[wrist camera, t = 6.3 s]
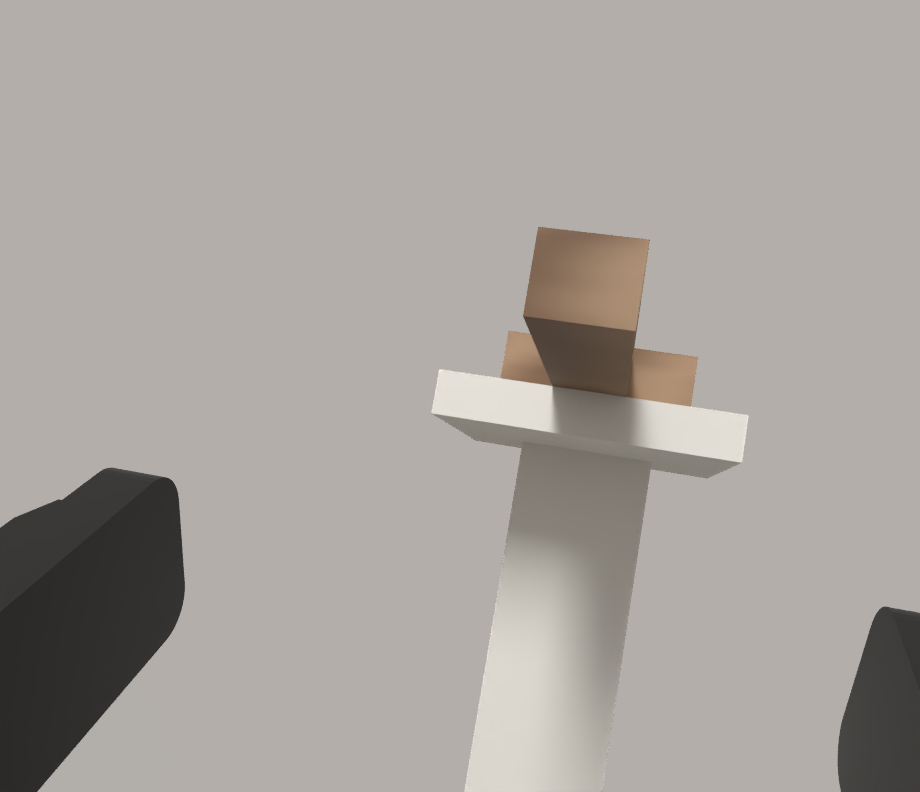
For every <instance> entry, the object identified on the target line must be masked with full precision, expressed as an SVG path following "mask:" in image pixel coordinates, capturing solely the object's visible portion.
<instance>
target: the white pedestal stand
mask: <svg viewBox="0 0 920 792" xmlns="http://www.w3.org/2000/svg"><path fill="white" fill-rule="evenodd" d="M432 414H433V415H435V416H437V417H438V418H440V419H442V420H444V421H445V422H446V423H448V424H450V425H452V426H453V427H455V428H456V429H458V430H459V431H461V432H463V433H464V434H466V435H468V436H469V437H471V438H473V439H474V440H476V441H482V442H488V443H494V444H500V445H507V446H513V447H518V448H522V449H521V455H520V462H519V467H518V473H517V479H516V486H515V491H514V497H513V503H512V509H511V515H510V521H509V528H508V534H507V539H506V545H505V551H504V558H503V563H502V569H501V575H500V582H499V587H498V594H497V600H496V605H495V611H494V617H493V624H492V629H491V635H490V641H489V647H488V653H487V659H486V665H485V671H484V678H483V683H482V690H481V695H480V702H479V707H478V713H477V719H476V725H475V732H474V737H473V743H472V749H471V756H470V761H469V767H468V773H467V779H466V785H465V791H464V792H602V788H603V783H604V776H605V769H606V762H607V756H608V749H609V742H610V736H611V729H612V722H613V716H614V709H615V702H616V696H617V689H618V683H619V676H620V669H621V663H622V656H623V649H624V643H625V636H626V629H627V623H628V616H629V609H630V602H631V596H632V589H633V583H634V575H635V569H636V563H637V556H638V549H639V543H640V536H641V529H642V523H643V516H644V509H645V503H646V496H647V489H648V483H649V476H650V470H651V469H653V470H659V471H665V472H671V473H677V474H684V475H690V476H696V477H702V478H709V477H711V476H713V475H716V474H718V473H720V472H722V471H724V470H727V469H729V468H731V467H733V466H736V465H738V464H740V463H742V460H743V453H744V445H745V437H746V431H747V423H748V415H742V414H736V413H730V412H723V411H715V410H710V409H703V408H696V407H690V406H683V405H676V404H669V403H663V402H656V401H649V400H643V399H636V398H629V397H622V396H616V395H609V394H602V393H596V392H589V391H582V390H576V389H569V388H562V387H555V386H549V385H542V384H535V383H529V382H522V381H515V380H509V379H502V378H495V377H488V376H482V375H475V374H468V373H462V372H455V371H448V370H442V369H439V374H438V380H437V385H436V391H435V396H434V402H433V407H432Z"/></svg>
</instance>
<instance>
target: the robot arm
mask: <svg viewBox="0 0 920 792" xmlns="http://www.w3.org/2000/svg"><path fill="white" fill-rule="evenodd" d="M184 592H185V581H184V567H183V554H182V538H181V525H180V510H179V498H178V492H177V488H176V486H175V484H174V483H173V481H172V480H170V479H169V478H165V477H160V476H155V475H149V474H144V473H138V472H132V471H128V470H122V469H116V468H107V469H104V470H102V471H100V472H99V473H97V474H96V475H95V476H93V477H92V478H91V479H90V480H88V481H87V482H86V483H84V484H83V485H82V486H80V487H79V488H78V489H76V490H75V491H74V492H72V493H71V494H70V495H68V496H67V497H66V498H64V499H63V500H56V501H54V502H52V503H49V504H47V505H44V506H42V507H39V508H37V509H35V510H32V511H30V512H27V513H25V514H22V515H20V516H18V517H15V518H13V519H12V520H10V521H9V522H8V523H6V524H5V525H4V526H2V527H1V528H0V792H37V791H38V790H39V789H40V788H41V786H42V785H43V784H44V783H45V782H46V781H47V779H48V778H49V777H50V776H51V775H52V773H53V772H54V771H55V770H56V769H57V768H58V767H59V765H60V764H61V763H62V762H63V761H64V759H65V758H66V757H67V756H68V755H69V754H70V752H71V751H72V750H73V749H74V748H75V747H76V745H77V744H78V743H79V742H80V741H81V739H82V738H83V737H84V736H85V735H86V734H87V732H88V731H89V730H90V729H91V728H92V727H93V725H94V724H95V723H96V722H97V721H98V720H99V718H100V717H101V716H102V715H103V714H104V712H105V711H106V710H107V709H108V707H110V705H111V704H112V703H113V702H114V701H115V700H116V698H117V697H118V696H119V695H120V694H121V693H122V691H123V690H124V689H125V688H126V687H127V686H128V684H129V683H130V682H131V681H132V680H133V678H134V677H135V676H136V675H137V673H139V671H140V670H141V669H142V668H143V667H144V666H145V664H146V663H147V662H148V660H150V659H151V657H152V656H153V655H154V654H155V653H156V651H157V650H158V649H159V648H160V647H161V646H162V644H163V643H164V642H165V641H166V640H167V638H168V637H169V636H170V634H171V632H172V631H173V629H174V627H175V625H176V623H177V621H178V618H179V615H180V612H181V609H182V605H183V600H184ZM838 775H839V783H840V788H841V792H920V613H917V612H912V611H906V610H901V609H895V608H890V607H882V608H881V609H880V610H879V611H878V612H877V614H876V615H875V617H874V620H873V622H872V625H871V628H870V631H869V635H868V638H867V641H866V645H865V648H864V651H863V654H862V658H861V661H860V664H859V667H858V671H857V674H856V677H855V680H854V684H853V687H852V690H851V693H850V697H849V700H848V703H847V707H846V710H845V713H844V716H843V720H842V724H841V729H840V736H839V744H838Z"/></svg>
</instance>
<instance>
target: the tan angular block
mask: <svg viewBox="0 0 920 792" xmlns="http://www.w3.org/2000/svg"><path fill="white" fill-rule="evenodd" d="M649 241H650V240H647V239H638V238H629V237H621V236H613V235H604V234H595V233H586V232H577V231H568V230H560V229H552V228H544V227H538V232H537V237H536V243H535V249H534V255H533V261H532V267H531V273H530V279H529V285H528V290H527V297H526V302H525V308H524V315H523V317H524V319H525V322H526V324H527V326H528V328H529V331H530V334H527V333H520V332H513V331H509V332H508V338H507V344H506V350H505V356H504V361H503V367H502V373H501V378H502V379H509V380H515V381H522V382H529V383H535V384H542V385H549V386H555V387H562V388H569V389H576V390H582V391H589V392H596V393H602V394H609V395H616V396H622V397H629V398H636V399H643V400H649V401H656V402H663V403H669V404H676V405H683V406H690V407H691V401H692V394H693V388H694V381H695V374H696V366H697V360H698V357H693V356H686V355H679V354H672V353H664V352H656V351H650V350H643V349H635V348H634V345H635V337H636V331H637V324H638V317H639V310H640V304H641V297H642V289H643V282H644V276H645V269H646V262H647V255H648V249H649V248H648V247H649Z"/></svg>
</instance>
